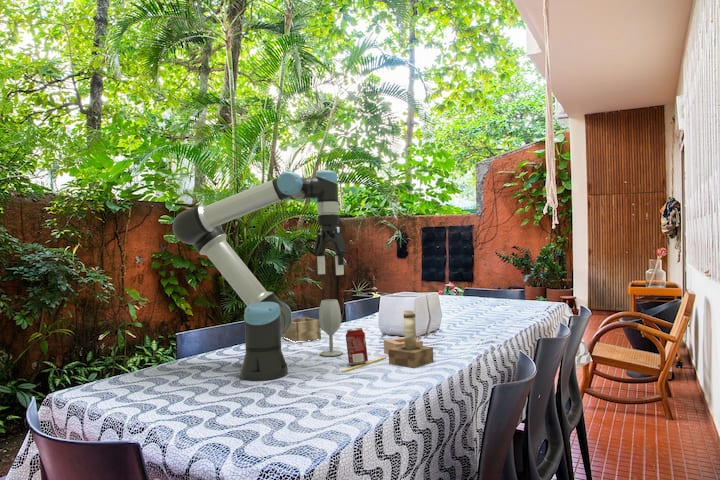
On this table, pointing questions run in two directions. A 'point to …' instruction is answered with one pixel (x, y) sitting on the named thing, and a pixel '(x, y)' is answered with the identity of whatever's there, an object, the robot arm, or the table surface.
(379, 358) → the thin yellow stick
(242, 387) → the table surface
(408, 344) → the beige banded cylinder
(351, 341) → the soda can
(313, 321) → the fruit crate
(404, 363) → the brown holed block
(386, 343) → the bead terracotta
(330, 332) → the wineglass
